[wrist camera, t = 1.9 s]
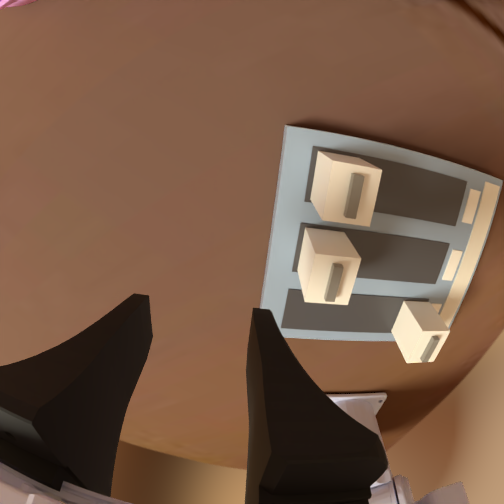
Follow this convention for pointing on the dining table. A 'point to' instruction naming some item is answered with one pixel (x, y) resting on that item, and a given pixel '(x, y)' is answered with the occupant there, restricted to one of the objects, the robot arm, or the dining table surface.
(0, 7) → the teakettle
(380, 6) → the dining table surface
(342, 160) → the tab
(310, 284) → the tab middle
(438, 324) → the tab
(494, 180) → the switch bank
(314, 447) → the robot arm
